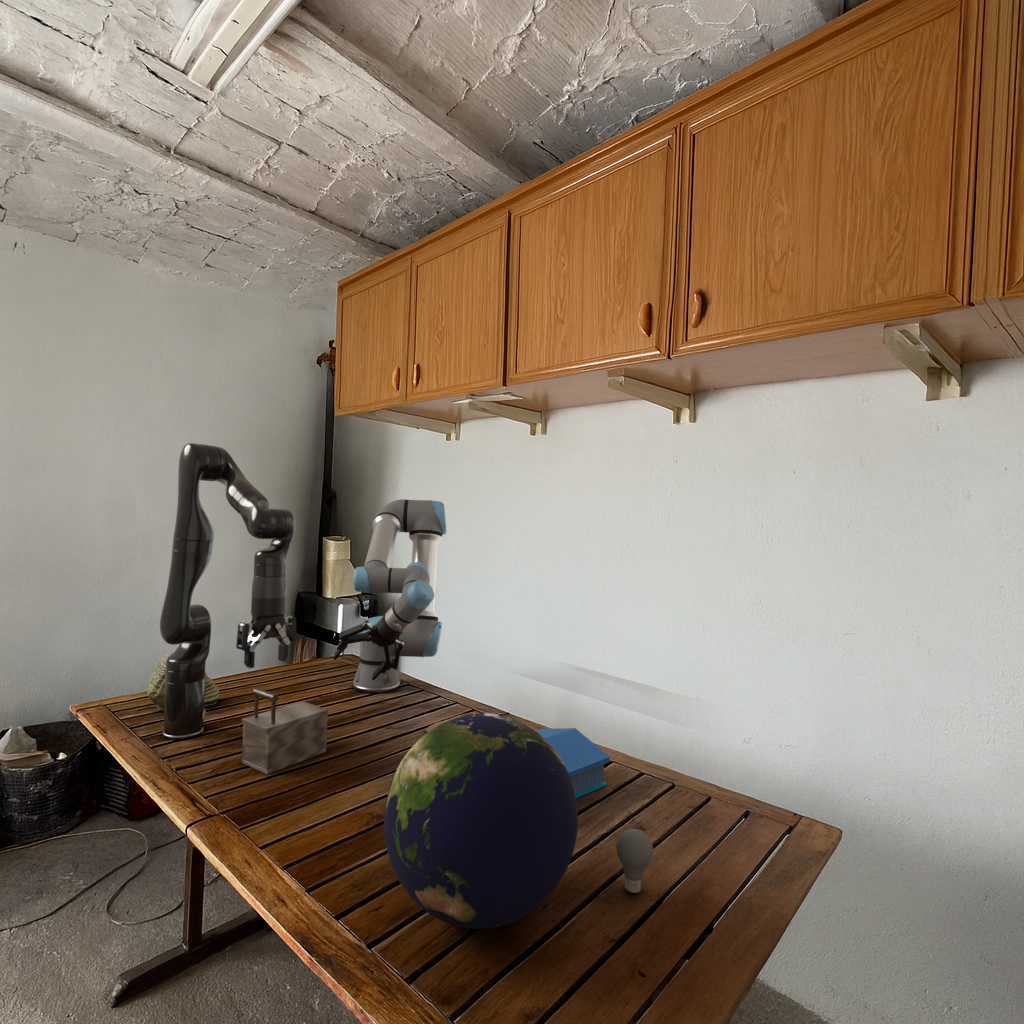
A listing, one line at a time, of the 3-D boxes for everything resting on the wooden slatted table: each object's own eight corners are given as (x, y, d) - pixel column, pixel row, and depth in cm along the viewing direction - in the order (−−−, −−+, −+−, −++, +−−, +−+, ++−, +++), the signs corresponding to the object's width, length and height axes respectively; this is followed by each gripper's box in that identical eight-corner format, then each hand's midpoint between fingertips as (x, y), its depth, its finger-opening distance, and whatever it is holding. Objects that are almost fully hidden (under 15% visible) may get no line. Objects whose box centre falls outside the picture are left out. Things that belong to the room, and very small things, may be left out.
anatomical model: (422, 719, 171) (435, 706, 182) (421, 734, 171) (435, 720, 182) (469, 725, 168) (480, 711, 179) (469, 740, 168) (479, 725, 179)
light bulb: (610, 879, 108) (613, 822, 108) (644, 879, 109) (647, 822, 109) (619, 902, 102) (622, 840, 102) (655, 901, 103) (658, 840, 103)
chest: (267, 774, 143) (268, 733, 143) (241, 763, 149) (243, 723, 148) (326, 751, 157) (327, 714, 157) (301, 742, 162) (302, 705, 162)
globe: (338, 940, 91) (346, 732, 90) (439, 840, 119) (446, 681, 118) (534, 1012, 80) (544, 775, 79) (594, 883, 107) (603, 707, 107)
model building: (485, 848, 116) (487, 795, 116) (411, 798, 134) (413, 751, 134) (618, 790, 143) (620, 746, 142) (541, 754, 161) (543, 715, 161)
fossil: (144, 707, 182) (145, 655, 182) (212, 696, 194) (213, 647, 194) (151, 716, 175) (153, 662, 175) (221, 703, 188) (223, 653, 188)
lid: (266, 733, 143) (268, 698, 142) (241, 723, 148) (242, 689, 148) (327, 714, 157) (328, 682, 157) (302, 705, 162) (303, 674, 162)
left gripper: (251, 599, 139) (248, 673, 139) (305, 593, 151) (302, 661, 151) (231, 595, 143) (228, 667, 143) (285, 589, 155) (282, 655, 155)
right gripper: (355, 610, 177) (315, 656, 184) (428, 651, 185) (387, 693, 193) (360, 594, 183) (321, 639, 191) (430, 634, 192) (390, 676, 199)
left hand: (266, 663), depth 147 cm, fingers open, 8 cm apart
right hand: (354, 666), depth 192 cm, fingers open, 13 cm apart
